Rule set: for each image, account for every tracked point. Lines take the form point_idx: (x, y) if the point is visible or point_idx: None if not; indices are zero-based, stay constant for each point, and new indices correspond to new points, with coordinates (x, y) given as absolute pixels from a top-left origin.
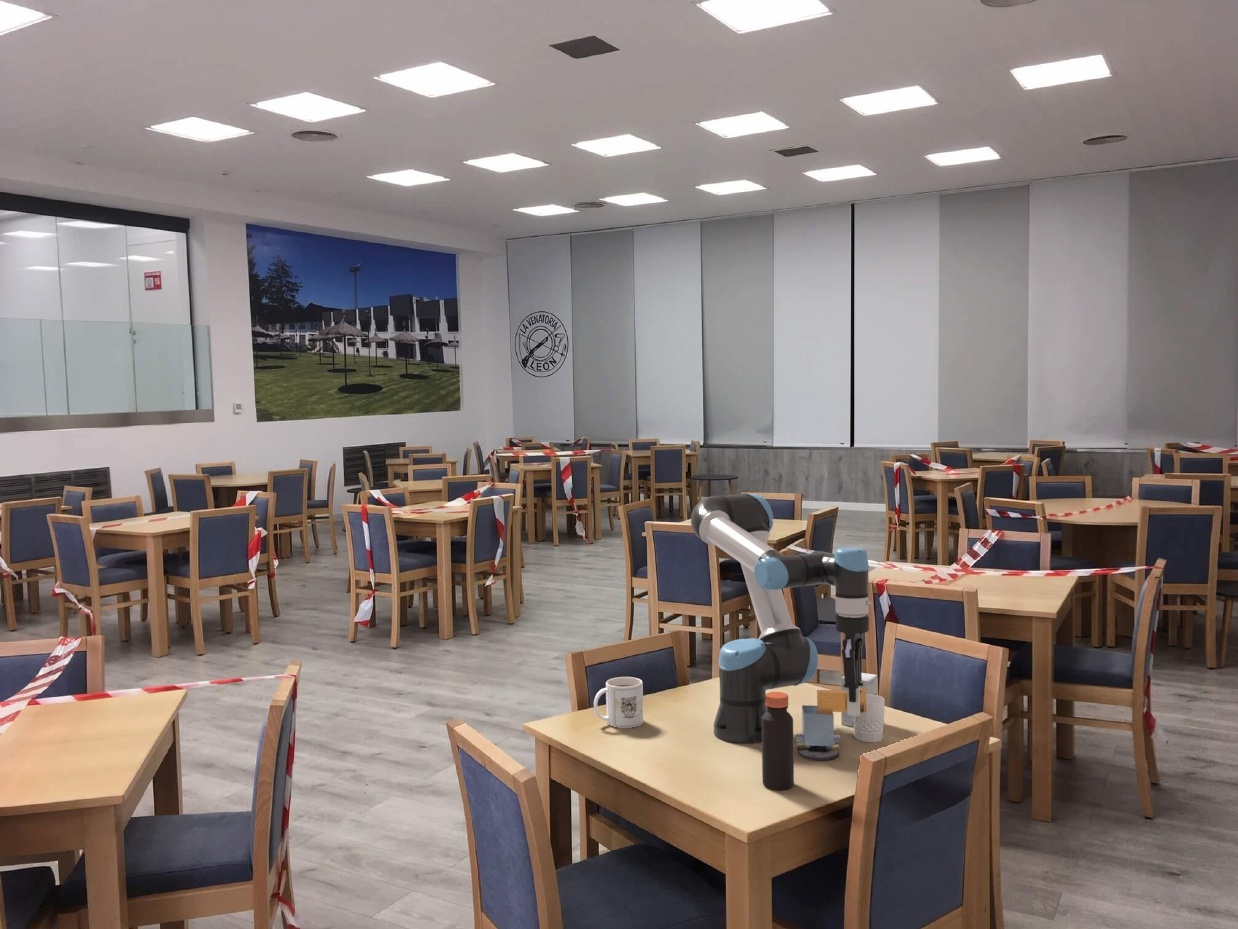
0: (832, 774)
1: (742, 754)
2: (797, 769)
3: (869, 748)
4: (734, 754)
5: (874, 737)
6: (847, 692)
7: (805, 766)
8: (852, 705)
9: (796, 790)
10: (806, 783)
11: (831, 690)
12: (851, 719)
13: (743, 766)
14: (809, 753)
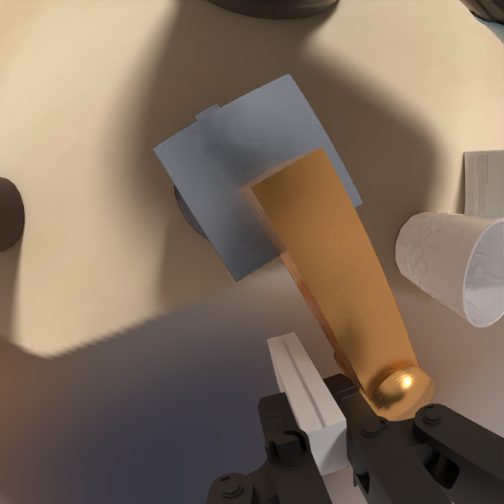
0: (120, 289)
1: (118, 24)
2: (93, 194)
3: None
4: (109, 13)
5: (408, 278)
6: (294, 411)
7: (124, 201)
8: (281, 387)
9: (3, 263)
10: (38, 262)
11: (364, 251)
12: (476, 179)
13: (47, 78)
14: (174, 184)
